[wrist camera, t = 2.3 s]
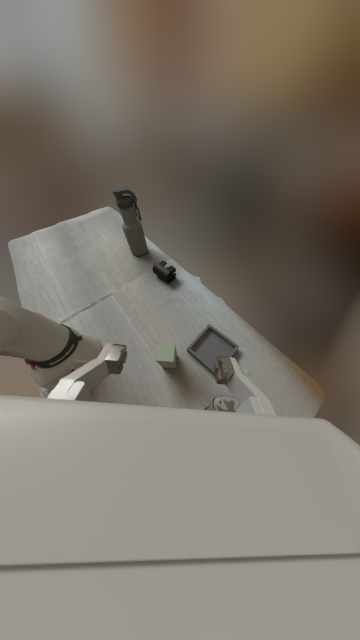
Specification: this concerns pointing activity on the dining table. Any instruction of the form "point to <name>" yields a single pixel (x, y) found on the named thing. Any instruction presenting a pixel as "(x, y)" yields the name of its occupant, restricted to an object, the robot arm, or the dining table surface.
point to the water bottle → (131, 221)
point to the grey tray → (211, 347)
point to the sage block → (166, 355)
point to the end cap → (164, 271)
